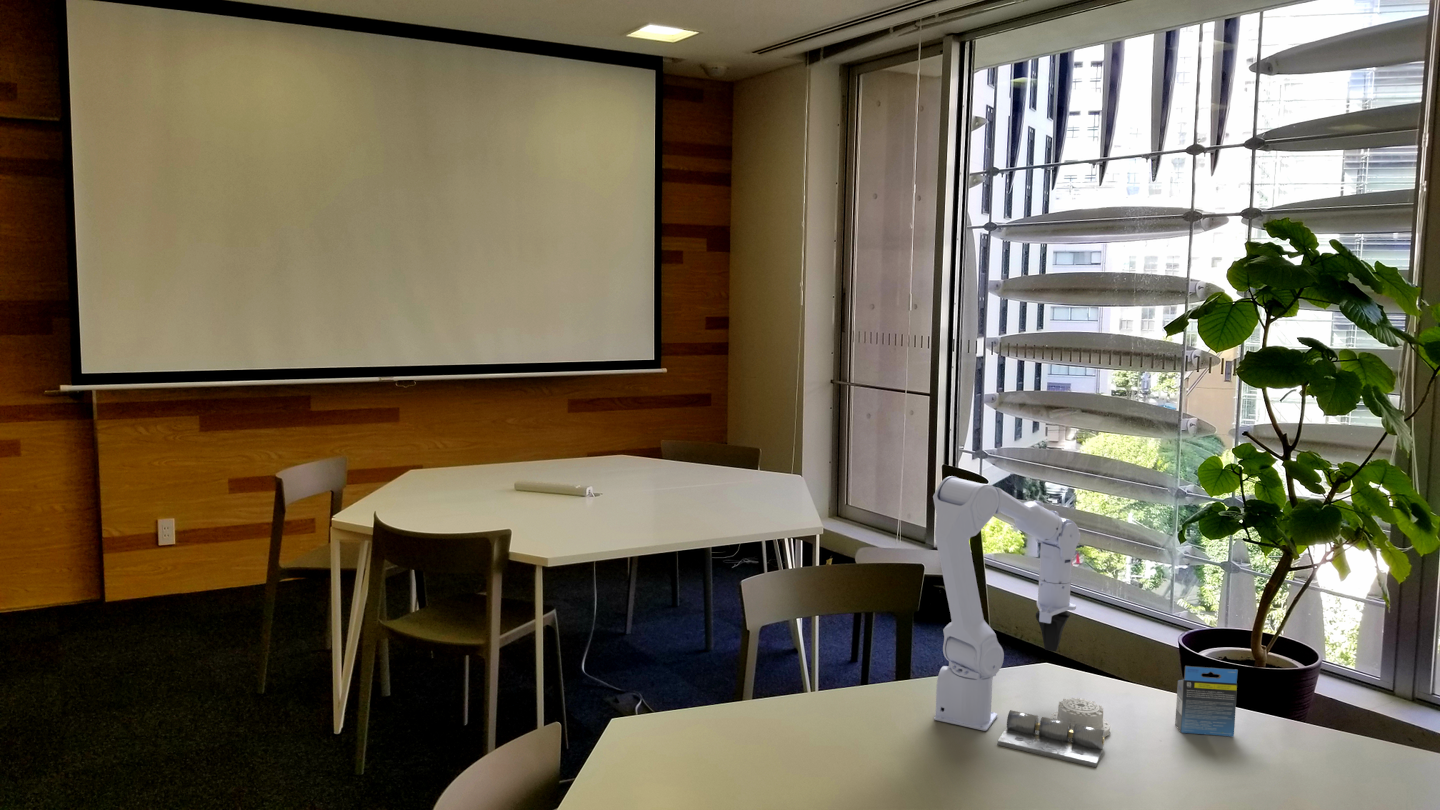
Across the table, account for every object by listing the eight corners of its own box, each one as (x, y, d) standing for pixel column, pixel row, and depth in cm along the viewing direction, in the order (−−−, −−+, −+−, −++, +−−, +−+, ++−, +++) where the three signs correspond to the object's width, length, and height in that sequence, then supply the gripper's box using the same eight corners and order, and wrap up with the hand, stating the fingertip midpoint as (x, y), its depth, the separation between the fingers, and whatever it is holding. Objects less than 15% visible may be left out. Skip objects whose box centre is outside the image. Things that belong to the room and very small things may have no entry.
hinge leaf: (997, 745, 175) (998, 724, 174) (1010, 726, 182) (1011, 706, 182) (1096, 767, 167) (1097, 746, 167) (1105, 747, 175) (1106, 726, 174)
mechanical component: (1053, 737, 179) (1113, 744, 177) (1054, 713, 178) (1115, 719, 176) (1047, 715, 188) (1104, 720, 186) (1048, 691, 188) (1106, 697, 186)
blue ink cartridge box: (1227, 728, 183) (1232, 661, 182) (1234, 738, 179) (1239, 669, 178) (1174, 724, 184) (1178, 657, 183) (1180, 733, 181) (1184, 665, 179)
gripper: (1069, 592, 185) (1065, 665, 187) (1084, 573, 198) (1080, 642, 199) (1029, 586, 188) (1025, 658, 190) (1046, 568, 201) (1043, 635, 203)
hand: (1051, 649), depth 195 cm, fingers closed
